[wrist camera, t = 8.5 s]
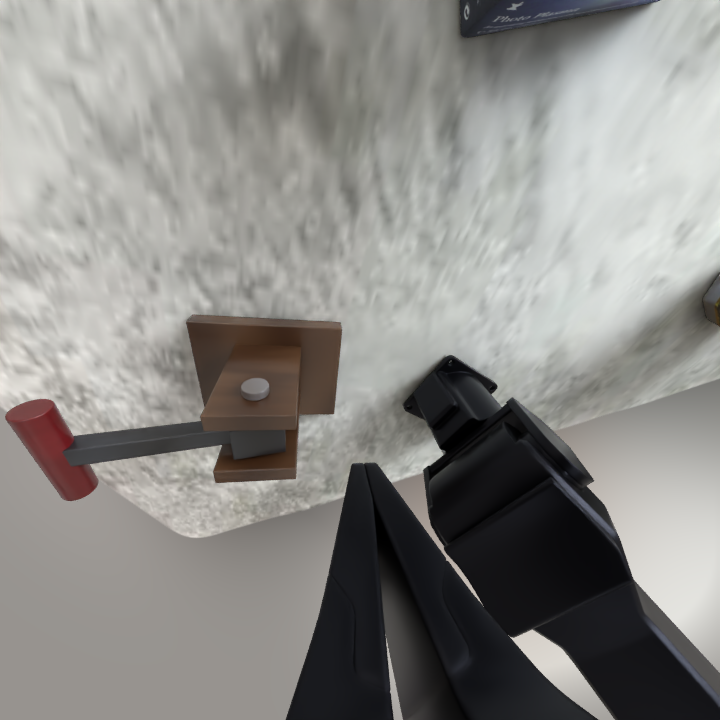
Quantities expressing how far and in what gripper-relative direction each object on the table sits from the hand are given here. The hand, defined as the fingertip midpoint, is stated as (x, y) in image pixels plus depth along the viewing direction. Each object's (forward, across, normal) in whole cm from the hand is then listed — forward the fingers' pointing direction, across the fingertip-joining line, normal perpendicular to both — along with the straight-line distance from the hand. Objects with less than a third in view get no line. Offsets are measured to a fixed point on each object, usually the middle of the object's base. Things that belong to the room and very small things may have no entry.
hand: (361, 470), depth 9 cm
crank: (+7, +9, +4) cm, 12 cm away
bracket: (+13, +4, +4) cm, 14 cm away
